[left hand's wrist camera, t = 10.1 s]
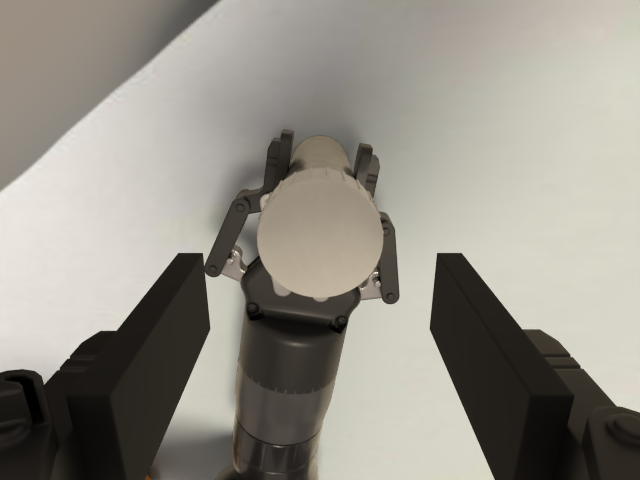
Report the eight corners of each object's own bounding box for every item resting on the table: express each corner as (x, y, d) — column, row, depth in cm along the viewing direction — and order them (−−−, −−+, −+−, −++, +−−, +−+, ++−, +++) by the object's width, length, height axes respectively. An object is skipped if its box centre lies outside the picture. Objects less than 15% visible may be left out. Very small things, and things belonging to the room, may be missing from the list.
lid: (334, 141, 19) (335, 149, 17) (400, 236, 21) (410, 254, 19) (237, 211, 20) (228, 227, 18) (308, 296, 22) (306, 320, 20)
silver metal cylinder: (326, 123, 34) (332, 167, 18) (358, 169, 35) (390, 248, 19) (280, 157, 35) (248, 227, 19) (313, 201, 36) (309, 301, 20)
